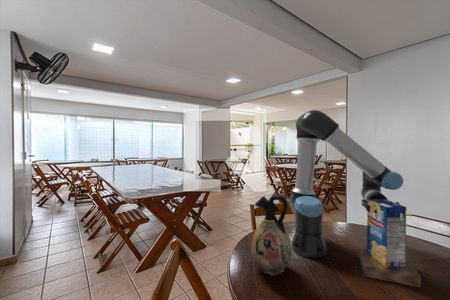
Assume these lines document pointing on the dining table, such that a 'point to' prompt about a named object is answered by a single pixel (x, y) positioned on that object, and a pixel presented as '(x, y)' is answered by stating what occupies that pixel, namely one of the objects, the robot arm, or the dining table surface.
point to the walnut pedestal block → (389, 271)
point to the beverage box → (386, 233)
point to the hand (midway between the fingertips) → (391, 216)
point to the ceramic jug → (271, 238)
